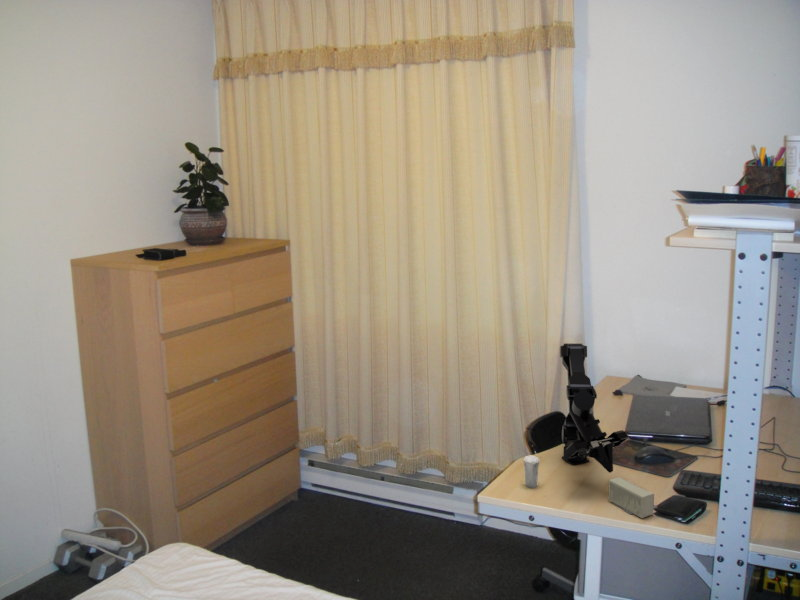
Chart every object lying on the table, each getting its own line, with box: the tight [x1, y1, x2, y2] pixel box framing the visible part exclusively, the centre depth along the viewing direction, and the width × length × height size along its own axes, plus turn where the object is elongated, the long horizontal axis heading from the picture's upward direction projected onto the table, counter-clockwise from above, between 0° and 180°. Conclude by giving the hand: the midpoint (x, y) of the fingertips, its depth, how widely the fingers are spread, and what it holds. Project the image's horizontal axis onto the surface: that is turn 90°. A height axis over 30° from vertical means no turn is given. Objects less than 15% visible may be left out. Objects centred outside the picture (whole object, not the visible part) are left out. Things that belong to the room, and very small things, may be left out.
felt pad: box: [611, 502, 658, 515], centre depth 191 cm, size 9×8×1 cm
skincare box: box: [608, 476, 655, 519], centre depth 189 cm, size 6×4×12 cm
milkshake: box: [523, 454, 543, 489], centre depth 204 cm, size 4×5×10 cm
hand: (611, 471), depth 194 cm, fingers closed
